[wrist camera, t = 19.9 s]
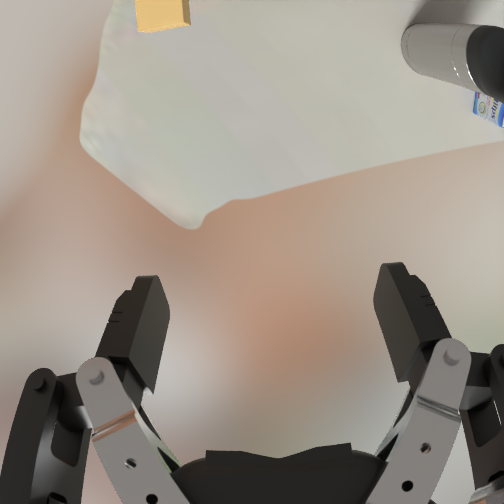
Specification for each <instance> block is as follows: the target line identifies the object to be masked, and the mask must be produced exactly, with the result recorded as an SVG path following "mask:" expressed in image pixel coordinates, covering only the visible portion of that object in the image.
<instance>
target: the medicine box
mask: <svg viewBox="0 0 504 504" xmlns="http://www.w3.org/2000/svg"><path fill="white" fill-rule="evenodd" d="M473 113H474V114H476V115H478V116H480V117H482V118H484V119H486V120H488V121H490V122H492V123H494V124H496V125H498V126H500V127H502V128H504V104H503V103H501V102H499V101H497V100H495V99H494V98H492V97H490V96H487V95H485V94H482V93H479V92H476V96H475V104H474V111H473Z"/></svg>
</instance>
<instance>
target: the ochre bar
mask: <svg viewBox="0 0 504 504" xmlns="http://www.w3.org/2000/svg"><path fill="white" fill-rule="evenodd" d="M135 6H136V17H137V27H138V31H139V32H147V33H151V32H155V31H160V30H165V29H171V28H176V27H182V26H188V25H191V22H190V11H189V0H135Z"/></svg>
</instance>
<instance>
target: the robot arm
mask: <svg viewBox="0 0 504 504" xmlns="http://www.w3.org/2000/svg"><path fill="white" fill-rule="evenodd" d="M401 47H402V53H403V56H404V58H405V60H406V62H407V63H408V65H409V66H410V67H411V68H412V69H413V70H414V71H416V72H417V73H419V74H422V75H425V76H429V77H432V78H436V79H439V80H443V81H446V82H449V83H452V84H456V85H459V86H462V87H465V88H468V89H470V90H473V91H476V92H479V93H482V94H485V95H487V96H490V97H492V98H494V99H495V100H497V101H499V102H501V103H503V104H504V29H503V28H501V27H497V26H488V25H475V24H449V23H424V24H415V25H412V26H410V27H409V28H408V29H407V30H406V31H405V33H404V34H403V37H402V42H401ZM430 295H431V294H430V293H429V291H428V289H427V287H426V285H425V284H424V283H423V282H422V281H421V280H420V279H419V278H418V277H417V276H416V275H409V273H408V271H407V269H406V267H405V265H404V264H403V263H402V262H396V263H383V264H382V265H381V267H380V271H379V276H378V280H377V284H376V288H375V292H374V298H373V299H374V309H375V312H376V315H377V318H378V321H379V324H380V327H381V330H382V333H383V335H384V339H385V342H386V345H387V348H388V351H389V354H390V358H391V361H392V364H393V367H394V371H395V374H396V378H397V381H398V382H404V381H408V382H409V385H410V388H409V390H408V392H407V394H406V396H405V398H404V401H403V403H402V405H401V407H400V409H399V412H398V414H397V416H396V418H395V420H394V422H393V424H392V426H391V428H390V430H389V432H388V433H387V435H386V437H385V438H384V440H383V441H382V443H381V444H380V446H379V448H378V449H377V451H376V453H375V454H374V455H372V454H369V453H366V452H362V451H357V450H352V448H351V443H345V444H337V445H330V446H321V447H315V448H312V449H309V450H306V451H303V452H300V453H297V454H294V455H290V456H287V457H284V458H272V457H267V456H261V455H257V454H252V453H248V452H243V451H212V450H211V451H210V450H206V457H205V458H201V459H197V460H194V461H192V462H189V463H187V464H185V465H183V466H182V465H181V464H180V462H179V461H178V459H177V458H176V457H175V455H174V454H173V453H172V451H171V450H170V449H169V448H168V446H167V445H166V443H165V442H164V441H163V439H162V437H161V436H160V434H159V432H158V431H157V429H156V427H155V426H154V424H153V422H152V421H151V419H150V417H149V416H148V414H147V413H146V410H145V409H144V407H143V405H142V404H141V401H142V396H143V394H149V395H153V394H154V389H155V384H156V379H157V374H158V369H159V364H160V360H161V355H162V351H163V346H164V342H165V337H166V333H167V328H168V324H169V320H170V309H169V304H168V301H167V299H166V296H165V293H164V290H163V287H162V284H161V282H160V279H159V277H158V276H157V275H154V276H138V277H136V279H135V282H134V284H133V287H132V289H131V290H125V291H124V293H123V294H122V295H121V296H120V297H119V298H118V299H117V300H116V303H115V305H114V308H113V310H112V314H111V315H110V318H109V320H108V321H109V323H107V325H106V328H105V331H104V333H103V336H102V339H101V341H100V344H99V347H98V350H97V352H96V355H95V357H94V358H91V359H89V360H87V361H85V362H84V363H83V364H82V365H81V366H80V368H79V369H78V371H77V372H76V373H71V374H67V375H61V376H56V375H55V374H54V373H53V372H52V371H51V370H50V369H48V368H40V369H37V370H35V371H34V372H33V373H31V374H30V376H29V377H28V379H27V381H26V383H25V386H24V389H23V392H22V395H21V398H20V401H19V404H18V407H17V411H16V414H15V417H14V421H13V424H12V428H11V431H10V435H9V439H8V443H7V447H6V451H5V456H4V460H3V465H2V470H1V475H0V504H81V497H82V489H83V480H84V473H85V467H86V460H87V454H88V448H89V442H90V436H91V431H92V428H93V429H94V432H95V433H94V434H93V435H92V442H93V444H94V447H95V449H96V451H97V453H98V456H99V458H100V460H101V462H102V464H103V466H104V468H105V471H106V472H107V474H108V477H109V478H110V481H111V482H112V484H113V486H114V488H115V490H116V492H117V494H118V496H119V497H120V499H121V501H122V503H123V504H436V503H435V502H434V501H432V500H431V499H430V498H431V496H432V494H433V492H434V490H435V488H436V486H437V483H438V481H439V479H440V477H441V474H442V472H443V470H444V467H445V465H446V462H447V460H448V457H449V455H450V452H451V450H452V447H453V444H454V441H455V439H456V435H457V433H458V430H459V427H460V423H461V420H462V424H463V428H464V432H465V437H466V441H467V446H468V451H469V456H470V461H471V466H472V472H473V478H474V484H475V492H474V493H473V495H472V496H471V498H470V501H469V503H468V504H504V344H500V345H497V346H496V347H495V348H494V349H493V350H492V352H491V353H490V354H486V353H476V352H470V351H469V350H468V348H467V347H466V345H464V344H463V343H462V342H461V341H459V340H456V339H453V338H452V337H451V335H450V333H449V331H448V329H447V326H446V325H445V322H444V320H443V318H442V316H441V314H440V312H439V310H438V308H437V306H435V303H434V300H433V298H432V297H431V296H430ZM494 401H495V404H496V407H497V410H498V413H499V417H500V421H501V424H500V421H499V418H498V414H497V410H496V407H495V404H494ZM458 409H459V412H460V415H459V414H458ZM55 423H56V424H55ZM54 427H55V428H54ZM53 431H54V433H53ZM52 436H53V437H52ZM51 440H52V442H51Z"/></svg>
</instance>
